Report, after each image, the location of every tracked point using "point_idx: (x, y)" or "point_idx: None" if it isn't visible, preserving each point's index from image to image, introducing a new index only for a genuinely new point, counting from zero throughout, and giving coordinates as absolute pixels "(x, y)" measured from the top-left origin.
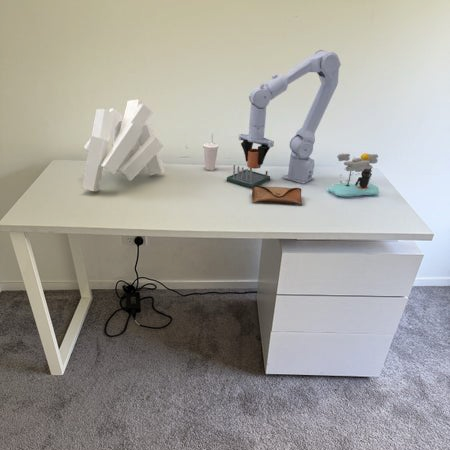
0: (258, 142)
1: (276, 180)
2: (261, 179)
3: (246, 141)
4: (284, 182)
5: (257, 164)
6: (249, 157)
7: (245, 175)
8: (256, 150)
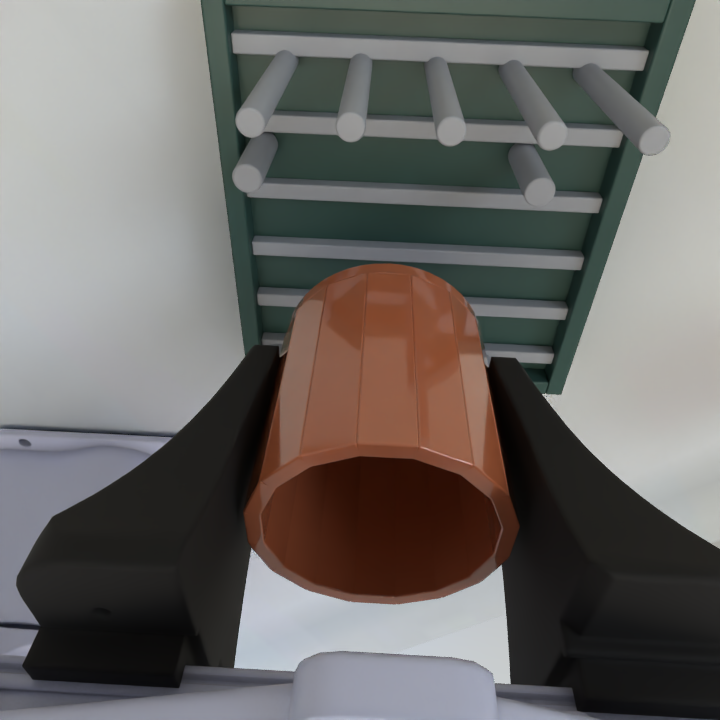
0: (166, 696)
1: (209, 378)
2: (291, 288)
3: (626, 680)
4: (126, 378)
5: (288, 341)
6: (420, 365)
7: (487, 259)
8: (408, 571)
